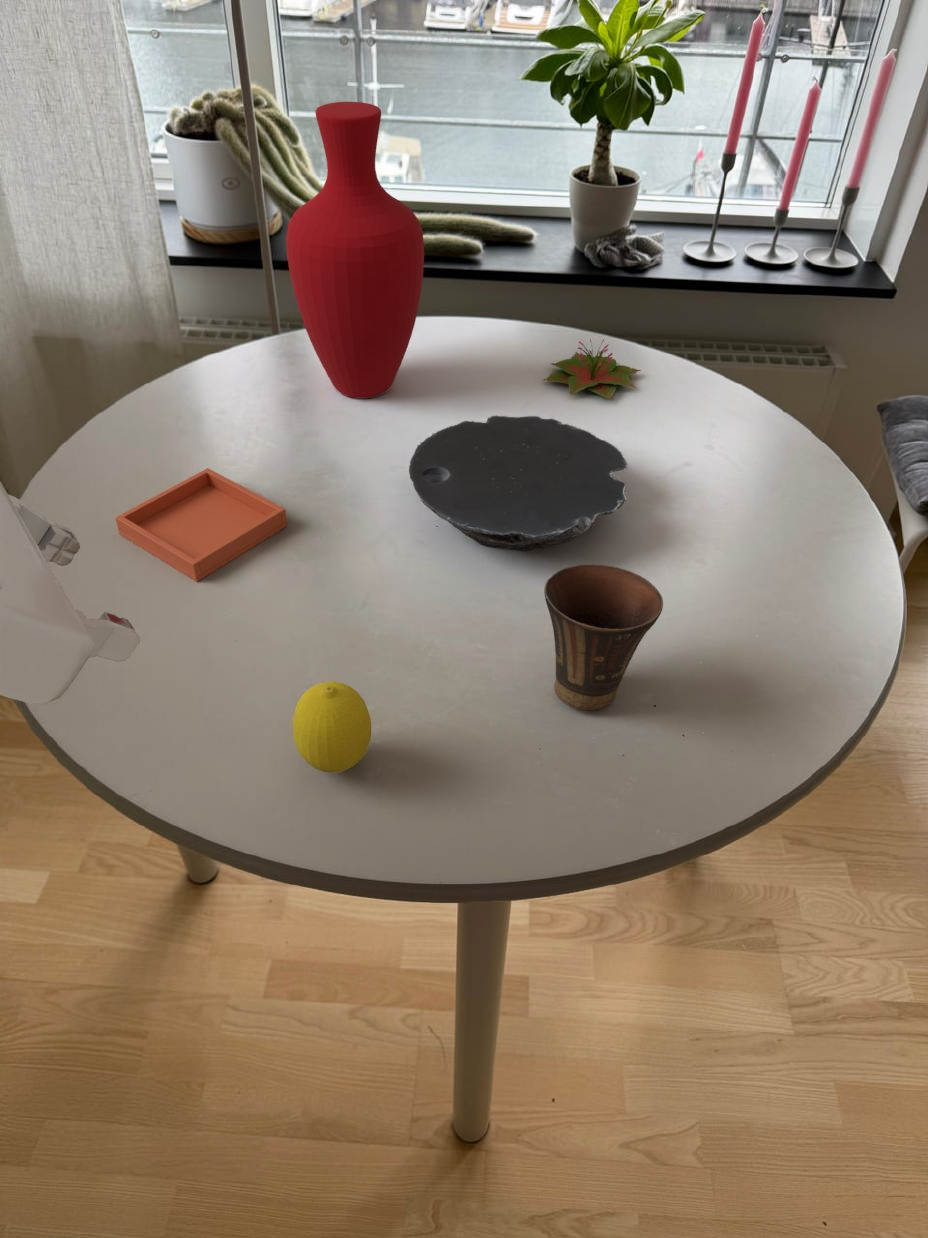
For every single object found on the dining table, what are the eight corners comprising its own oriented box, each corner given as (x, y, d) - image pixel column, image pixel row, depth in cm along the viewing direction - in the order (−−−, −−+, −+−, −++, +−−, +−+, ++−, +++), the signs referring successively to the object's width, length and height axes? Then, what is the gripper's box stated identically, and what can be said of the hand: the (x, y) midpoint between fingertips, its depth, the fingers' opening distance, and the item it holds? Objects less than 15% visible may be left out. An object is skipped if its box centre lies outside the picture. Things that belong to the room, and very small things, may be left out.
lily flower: (615, 414, 111) (620, 378, 108) (524, 386, 115) (526, 350, 112) (657, 374, 118) (663, 338, 115) (570, 349, 123) (573, 314, 120)
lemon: (325, 807, 68) (316, 731, 63) (284, 759, 71) (271, 683, 66) (388, 769, 71) (385, 693, 66) (346, 725, 74) (339, 649, 69)
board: (365, 539, 92) (362, 494, 89) (462, 433, 107) (463, 391, 104) (583, 605, 85) (589, 559, 82) (654, 482, 100) (662, 439, 97)
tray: (196, 582, 87) (193, 564, 85) (119, 534, 92) (114, 517, 90) (287, 525, 93) (285, 508, 92) (210, 484, 98) (207, 467, 97)
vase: (372, 346, 122) (360, 82, 103) (450, 388, 115) (454, 111, 95) (275, 383, 115) (242, 105, 95) (352, 431, 107) (334, 138, 87)
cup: (643, 651, 81) (661, 556, 74) (647, 730, 74) (668, 633, 68) (537, 642, 82) (547, 547, 75) (532, 720, 75) (542, 623, 68)
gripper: (-90, 565, 35) (207, 658, 46) (-178, 350, 47) (71, 462, 58) (-175, 700, 36) (135, 760, 47) (-239, 454, 48) (16, 546, 59)
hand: (98, 593), depth 53 cm, fingers open, 8 cm apart
